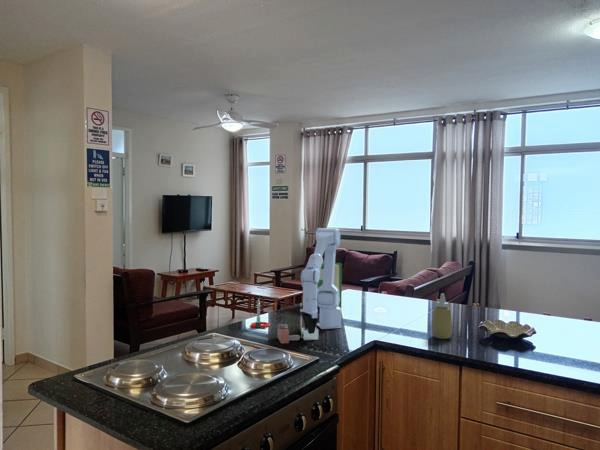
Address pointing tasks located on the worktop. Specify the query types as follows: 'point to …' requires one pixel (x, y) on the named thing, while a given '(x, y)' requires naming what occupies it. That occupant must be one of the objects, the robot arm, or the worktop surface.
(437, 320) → the squeeze bottle
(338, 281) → the hardback book
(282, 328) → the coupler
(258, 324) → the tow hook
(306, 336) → the lock block
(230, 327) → the worktop surface
